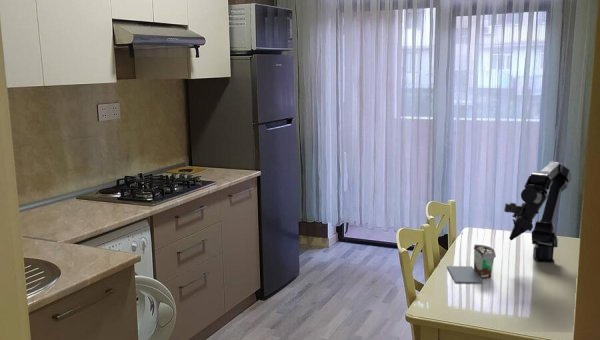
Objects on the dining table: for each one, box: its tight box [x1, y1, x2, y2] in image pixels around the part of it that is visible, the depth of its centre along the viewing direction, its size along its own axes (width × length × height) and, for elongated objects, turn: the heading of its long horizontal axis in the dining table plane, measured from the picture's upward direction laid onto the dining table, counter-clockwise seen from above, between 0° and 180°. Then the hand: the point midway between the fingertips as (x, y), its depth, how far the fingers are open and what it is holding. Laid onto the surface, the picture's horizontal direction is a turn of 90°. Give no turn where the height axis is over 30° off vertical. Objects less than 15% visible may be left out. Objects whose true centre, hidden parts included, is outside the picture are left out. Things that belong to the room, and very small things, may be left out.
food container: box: [473, 244, 496, 280], centre depth 213 cm, size 12×6×10 cm, turn 179°
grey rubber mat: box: [446, 265, 483, 284], centre depth 213 cm, size 10×16×1 cm, turn 176°
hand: (510, 239), depth 218 cm, fingers closed
